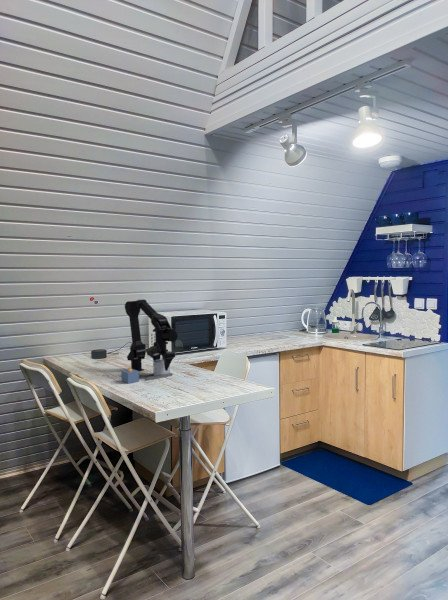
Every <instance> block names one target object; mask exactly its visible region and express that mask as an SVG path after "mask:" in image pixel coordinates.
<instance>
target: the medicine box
mask: <svg viewBox="0 0 448 600" xmlns="http://www.w3.org/2000/svg"><path fill="white" fill-rule="evenodd" d="M152 361H153V362H152V365H153V366H152V367H153V372H152V373H154V376H157V375H163V374H168V373H171V365H170V366H169V368H168V370H167V371H165V365H164V360H163V359H162V358H160V359H158V360H153V359H152Z"/></svg>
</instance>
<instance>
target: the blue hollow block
mask: <svg viewBox="0 0 448 600" xmlns="http://www.w3.org/2000/svg"><path fill="white" fill-rule="evenodd" d="M120 372H121V373H120V375H121V376H120V377H121V382H122V383H125V384H129V385H130V384H134V383H138V382H140V378H139V373H140V371H137V370H134V369H132V371H130V372H128V369H125V370H124V369H123V370H121V371H120Z"/></svg>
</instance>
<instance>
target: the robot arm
mask: <svg viewBox="0 0 448 600" xmlns="http://www.w3.org/2000/svg"><path fill="white" fill-rule="evenodd" d="M124 310H125V314H126V315H127V316H128V317H129V326H130V332H131V345H130V348H129V350H130V352H129V353H128V355H127V356H126V358H127V361H130V366H131V367H130V369H134V370H137V371H139V372H140V371H145V369H144V368H143V365H142V360H144V359H145V357H146V355H147V356H149V357H150V358H152V361H153V360H158V359H163V360H164V365H165V371H167V370H168V368H169V366H170V367H171V363H172V361H173V359H175V358H176V353H175V351H171V350H170V351H169V349H167V345H168V344H169V342H170V343H171V342H172V343H174V342H176V341H177V339H178V333H177V332H176V331H175V329H174V328H172V325H171V324H170V322H169V319H168V318H167V317H166V316H165V315H164V314H161V313H159V312H157V311H156V310H155V309H154V308H153V307H152V306H151V305H150V304H149V303H148V302H147V300H146V299H144V298H143V299H137V300H130V301H126V302H125V304H124ZM141 311H142V312H143V313H144V314H145V315H146V316H147V317H148V318H149V319H150V322H151V325H152V326H153V329H152V332H154V334H155V335H154V337H155V338H154V339H155V342H153V345H152V346H150V347H146V346H147V345H146V344H145V343H143V342H142V337H141V328H140V320H139V316H140V313H141ZM161 357H162V358H161Z"/></svg>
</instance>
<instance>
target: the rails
mask: <svg viewBox="0 0 448 600" xmlns="http://www.w3.org/2000/svg"><path fill="white" fill-rule="evenodd" d="M172 375H173V372H172V373H171V372H170V373H168V374H163V375H157V376H154V372H150V373H145V374H141V375H139V379H143V378H144V381H151V380H156V379H162V378H167V377H172Z"/></svg>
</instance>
